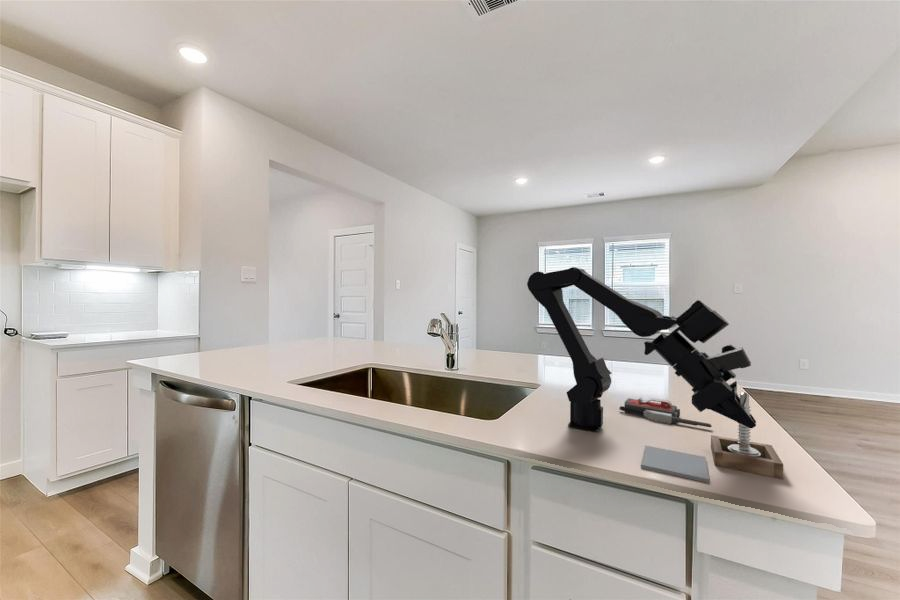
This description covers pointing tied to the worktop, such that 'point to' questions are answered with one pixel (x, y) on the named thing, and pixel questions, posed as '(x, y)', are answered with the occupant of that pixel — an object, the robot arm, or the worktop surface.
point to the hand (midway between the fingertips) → (753, 425)
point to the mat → (675, 463)
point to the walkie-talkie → (657, 411)
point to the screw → (744, 433)
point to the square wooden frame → (747, 458)
